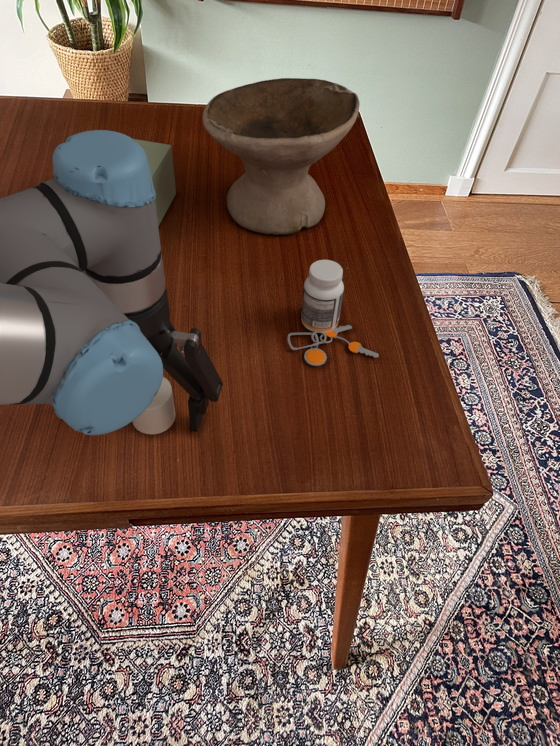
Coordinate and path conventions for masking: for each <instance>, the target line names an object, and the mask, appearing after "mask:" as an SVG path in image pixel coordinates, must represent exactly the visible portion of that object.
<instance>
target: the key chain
mask: <svg viewBox="0 0 560 746" xmlns="http://www.w3.org/2000/svg"><path fill="white" fill-rule="evenodd" d="M349 330H353V327H352V325H351V324H346V325H340V326H336V328H335V329H333V330H332V331H329V332H325V333H324V332H319V331H315V332H313V331H312V332H307V331H306V332H304V331H303V332H290V333H288V334H287V344H288V347H289V348H290V349H291V350H292V351H298V350H301V349H306V348H308V349H307V350H306V351H305V352H304V355H303V358H304V361H305V362H306V363H307V364H308V365H310V366H312V367H319V366H320V367H321V366H322V365H325V363H326V362H327V359H328V356H327V353H326V352H325V351H324V350H322V349H321V348H318V347H319V345H321V344H330V343H331V342H333V339H339V340H340V341H341V340H342V341H343V342H345V343H346V344H347V345H348V350H349V352H352V353H353V354H358V353H360V354H364V355H365V356H367V357H368V356H369V357H373V358H374V359H378V358H379V357H380V356H379V355H380V354H379V353H377V352H375V351H372V350H370V349H367V348H364V347H363V346H362V343H360V342H359V341H351V342H350V341H349V340H347V339H346V338H344V337H342V336H338V334H339V333H341V332H345V331H349ZM318 334H320V336H318ZM291 336H310V337H311V340H312V341H313V343H312V344H307V345H304V346H300V347H294V346H293V344H292V342H291ZM314 337H315V338H314ZM322 337H323V338H322ZM328 337H329V339H330V340H328V341H327V338H328ZM319 339H320V340H319Z"/></svg>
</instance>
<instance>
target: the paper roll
mask: <svg viewBox="0 0 560 746" xmlns="http://www.w3.org/2000/svg"><path fill="white" fill-rule="evenodd" d="M176 415H177V414H176V407H175V399H174V394H173V387H172V383H171V382H170V381H169V380H168V379H167V378H166V377H165V376H163V379H162V383H161V386H160V388H159V390H158V391H157V393H156V394H155V395H154V397H153V401H152V402H151V404H150V405H149V406H148V407H147V409H146V410H145V411H144V412H143V413H142V414H140V415H139V416H138V417H137V418H136V419H135V420H133V421H132V422H131V423H132V425H133V427H134V428H135V429H136V430H137V431H139V432H140V433H142V434H146V435H158V434H162V433H164V432H166V431H168V430H169V429H170V428H171V427H172V426H173V424H174V422H175V420H176Z"/></svg>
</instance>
